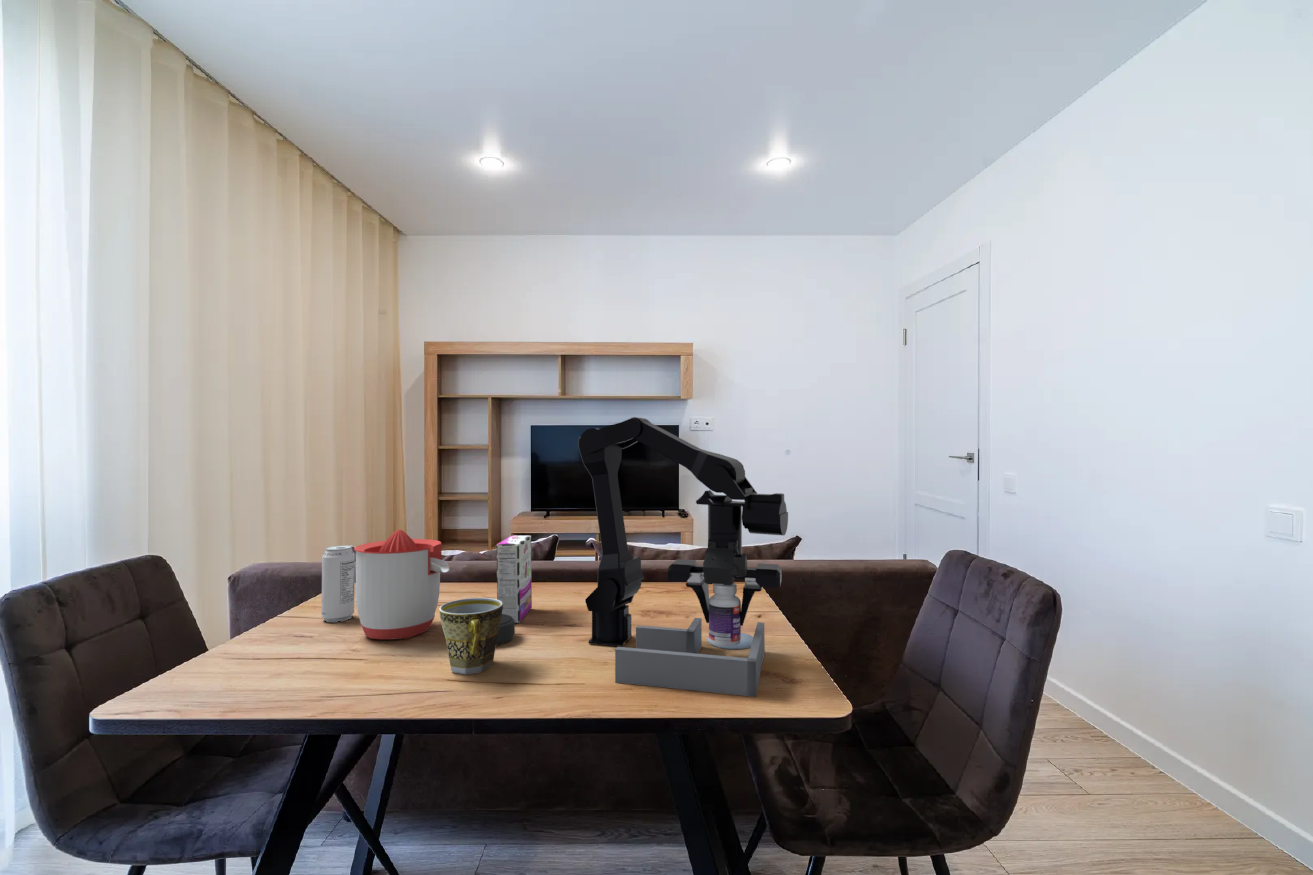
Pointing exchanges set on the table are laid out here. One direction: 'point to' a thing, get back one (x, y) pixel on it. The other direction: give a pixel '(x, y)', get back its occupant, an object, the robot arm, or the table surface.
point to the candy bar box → (514, 576)
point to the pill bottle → (724, 616)
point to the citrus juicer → (398, 585)
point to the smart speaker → (506, 629)
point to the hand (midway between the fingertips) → (724, 623)
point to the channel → (688, 662)
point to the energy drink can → (338, 583)
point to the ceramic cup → (471, 633)
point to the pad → (744, 643)
